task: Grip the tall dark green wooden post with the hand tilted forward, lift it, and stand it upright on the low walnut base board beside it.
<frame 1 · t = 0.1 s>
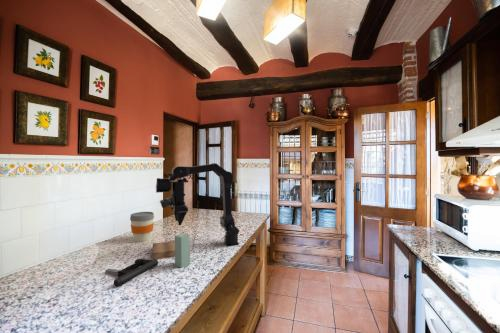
hand: (178, 222, 119), 15 cm above the counter, tool pointing down, fingers open, 9 cm apart
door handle: (128, 274, 97), on the counter
walnut base: (167, 252, 119), on the counter
reusable coffee cup: (142, 240, 138), on the counter
green post: (182, 264, 104), on the counter
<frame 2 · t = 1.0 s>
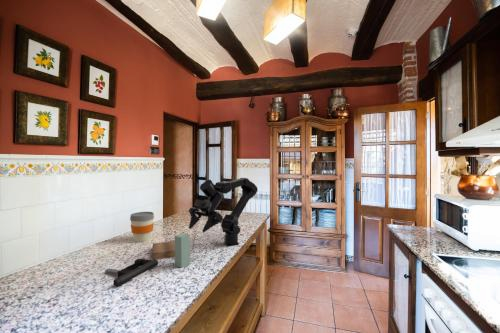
hand: (196, 230, 111), 13 cm above the counter, tool tilted 45°, fingers open, 9 cm apart
nothing on the counter moved.
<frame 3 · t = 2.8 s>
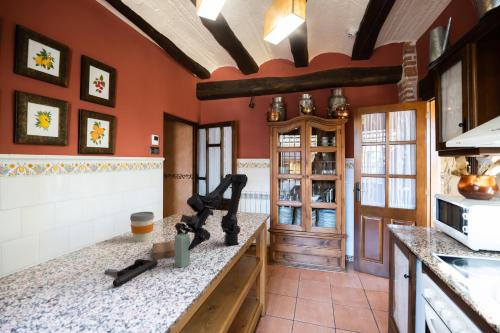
hand: (181, 247, 104), 8 cm above the counter, tool tilted 45°, fingers open, 9 cm apart
nothing on the counter moved.
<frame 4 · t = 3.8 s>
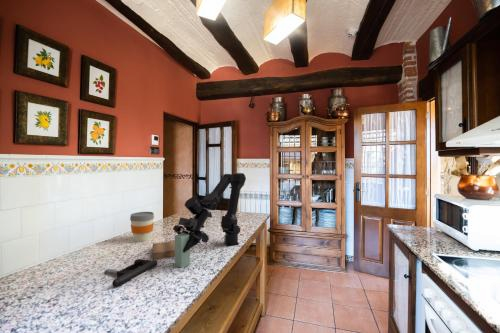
hand: (179, 250, 103), 7 cm above the counter, tool tilted 45°, fingers closed on green post, 4 cm apart
green post: (182, 264, 104), on the counter, touching gripper
everything else where it was.
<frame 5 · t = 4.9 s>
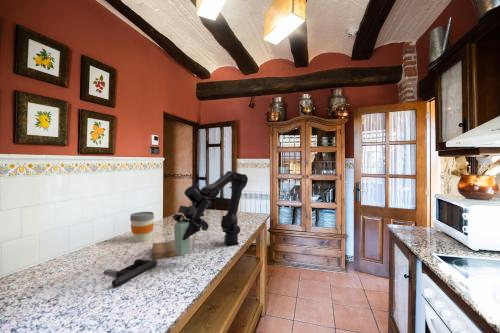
hand: (179, 238, 103), 12 cm above the counter, tool tilted 45°, fingers closed on green post, 4 cm apart
green post: (182, 252, 104), point 5 cm above the counter, touching gripper
everything else where it was.
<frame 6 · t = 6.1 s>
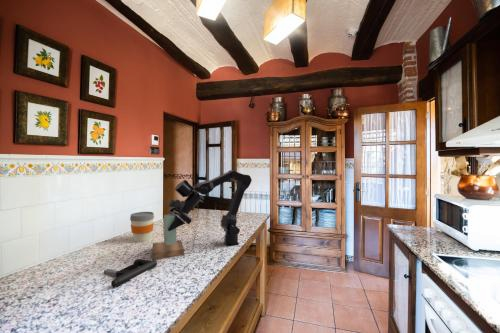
hand: (167, 229, 112), 13 cm above the counter, tool tilted 45°, fingers closed on green post, 4 cm apart
green post: (170, 242, 113), point 7 cm above the counter, touching gripper
everything else where it was.
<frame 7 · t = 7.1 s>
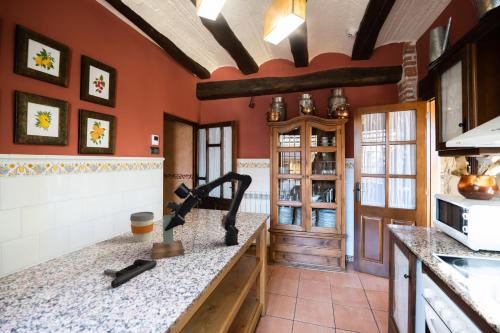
hand: (165, 229, 118), 12 cm above the counter, tool tilted 45°, fingers closed on green post, 4 cm apart
green post: (168, 242, 119), point 5 cm above the counter, touching gripper
everything else where it was.
when the fingers open (11 cm above the counter, at t = 7.5 s): green post drops 1 cm, resting on walnut base.
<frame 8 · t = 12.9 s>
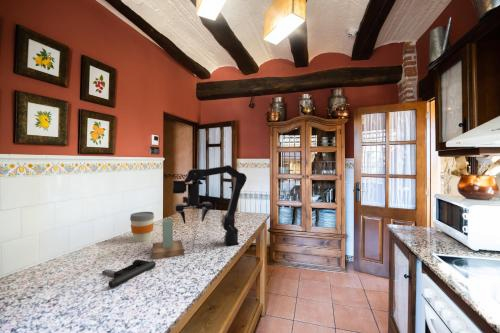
hand: (193, 222, 125), 13 cm above the counter, tool pointing down, fingers open, 9 cm apart
green post: (167, 246, 119), point 3 cm above the counter, touching walnut base
at the end: green post inside the target area on the walnut base (0.1 cm from its centre), point 3.0 cm above the walnut base's base; green post tilted 0°; the gripper is holding nothing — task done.
